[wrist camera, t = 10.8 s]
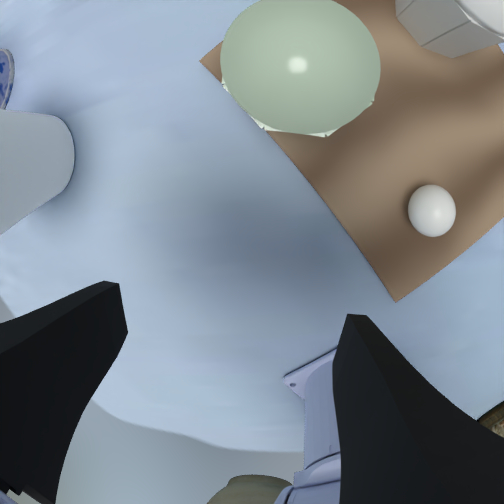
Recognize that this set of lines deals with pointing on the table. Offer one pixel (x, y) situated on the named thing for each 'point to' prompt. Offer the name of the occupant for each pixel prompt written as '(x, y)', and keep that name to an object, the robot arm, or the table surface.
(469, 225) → the walnut board
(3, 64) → the aerosol can
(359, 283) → the table surface
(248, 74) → the sage green acorn nut
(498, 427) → the owl figurine
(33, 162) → the cup
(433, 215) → the white marble
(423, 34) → the white acorn nut
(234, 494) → the planter bowl
